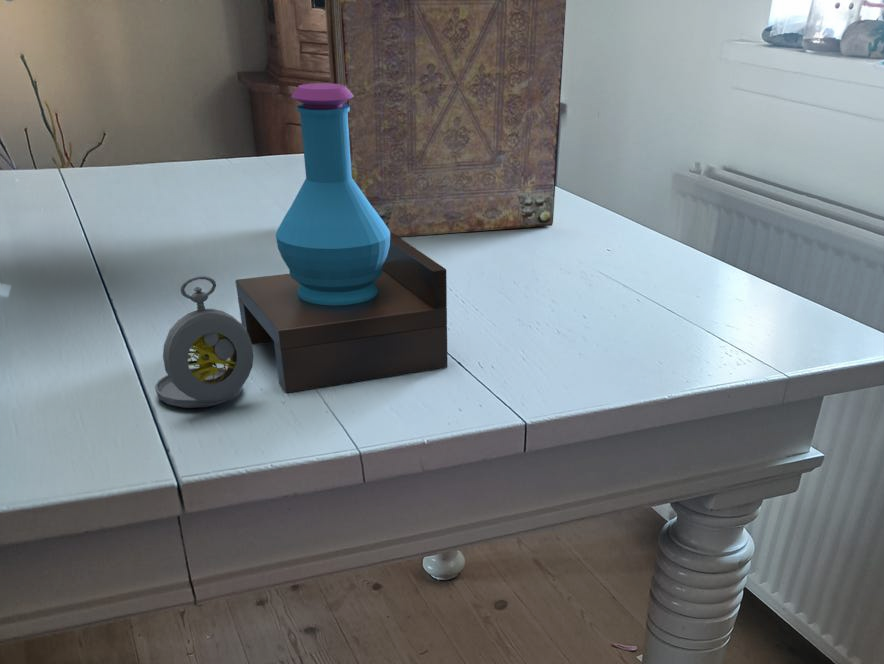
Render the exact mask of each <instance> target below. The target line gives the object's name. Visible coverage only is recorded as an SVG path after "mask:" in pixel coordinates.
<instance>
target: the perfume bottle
mask: <svg viewBox="0 0 884 664" xmlns="http://www.w3.org/2000/svg"><path fill="white" fill-rule="evenodd" d="M353 97H354V95H353V94H352V93H351V92H350V91H349V90H348V89H347V88H346V86H344V85H341V84H332V83H330V82H329V83H328V82H317V83H316V82H313V83H303V84H299V85H298V86H297V87H296V89H295V90H294V91H293V93H292V94H291V98H292V99H294V100H295V101H298V102H299V103H300V104H298V105H296V109H297V110H296V111H297V112H298V113H299V116H300V126H301V127H300V128H301V136H302V150H303V158H304V159H303V160H304V169H305V180H304V181H303V183H302V184H301V187H300V188H299V191H298V192H297V194H296V196H295V198H294V200H293V201H292V203H291V205H290V207H289V209H288V210H287V212H286V213H285V215H284V217H283V219H282V221H281V223H280V224H279V227H278V228H277V230H276V232H275V239H276V240H275V241H276V244H277V245H276V246H277V249H278V251H279V253H280V256H281V258H282V261H283V262H284V264H285V265H286V266H287V268H288V271H289V273H290V276H291V277H292V279H294V280H295V281H297V282H298V283H300V285H299V288H298V296H299V297H300V298H301V299H302V300H304V301H307V302H310V303H314V304H320V305H350V304H357V303H361V302H365V301H368V300H370V299H372V298H374V297H375V296H376V295H377V286H376V285H375V283H374V281H375V280H376V279H378V278H379V277H380V276H381V274H382V266H383V264H384V262H385V259H386V257H387V254H388V250H389V246H390V230H389V229H388V228H387V226H386V225H385V223H384V222H383V220H382V219H381V217H380V216H379V215H378V213H377V212H376V211H375V209H374V208H373V207H372V206H371V204H370V203H369V201H368V200H367V198H366V197H365V196H364V194H363V193H362V191H361V190H360V189H359V187H358V186H357V184H356V183H355V181H354V180H353V179H352V175H351V159H350V143H349V128H348V112H349V111H350V106H349V105H347V104H343V103H344V102H346V101H348V100H349V99H351V98H353Z"/></svg>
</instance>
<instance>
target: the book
mask: <svg viewBox="0 0 884 664" xmlns="http://www.w3.org/2000/svg"><path fill="white" fill-rule="evenodd" d="M324 10H325V23H326V24H325V26H326V38H327V52H328V53H327V55H328V67H329V83H332V84H341V85H344V86H346V88H347V89H348V90H349V91H350V92H351V93H352V94H353V95H354V97H353V98H351V99H349V100H348V101H346V102H344V103H343V104H347V105H349V106H350V111H349V112H348V128H349V143H350V159H351V175H352V179H353V180H354V181H355V183H356V184H357V186H358V187H359V189H360V190H361V191H362V193H363V194H364V196H365V197H366V198H367V200H368V201H369V203H370V204H371V206H372V207H373V208H374V209H375V211H376V212H377V213H378V215H379V216H380V217H381V219H382V220H383V222H384V223H385V225H386V226H387V228H388V229H389V230H390V232H392V233H393V234H395V235H396V236H398V237H399V238H401V237H414V236H426V235H427V236H430V235H442V234H455V233H468V232H482V231H497V230H509V229H510V230H511V229H521V228H522V229H524V228H537V227H551V226H553V223H554V212H555V199H556V198H555V197H556V181H557V180H556V179H557V165H558V163H557V162H558V149H559V148H558V147H559V131H560V129H559V128H560V114H561V113H560V111H561V97H562V96H561V95H562V94H561V93H562V78H563V64H564V63H563V60H564V45H565V44H564V43H565V27H566V14H567V13H566V11H567V0H324Z"/></svg>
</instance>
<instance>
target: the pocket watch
mask: <svg viewBox="0 0 884 664" xmlns="http://www.w3.org/2000/svg"><path fill="white" fill-rule="evenodd" d="M198 280H204V281H208V282H210V284H211V285H212V286H211V288H210V289H209V290H208V291H207V292H205V291H203V290H202V287H200V286H196V287H195V288H193V291H194V292H193V293H192V294H190V295H189V294H187V292H186V290H185V289H186V287H187V286H188V285H189V284H190V283H193V282H195V281H198ZM216 287H217V282H216V280H214V278H212V277H210V276H206V275H200V276H199V275H198V276H195V277H191V278H189V279H187V280H186V281H184V282H183V283H182V284H181V286H180V293H181V295H182V296H183V297H184V298H187V299H190V301H192V302H193V303H195V304H196V310H193V311H189V312H187V313H186V314H185V315H183V316H182V317H180V318H179V319H178V320H177V321H176V322H175V323H174V324H173V326H172V327H171V328H170V329H169V331H168V333H167V335H166V338H165V341H164V343H163V351H162V352H163V353H162V360H163V367H164V369H165V372H166V375H164V376H162V377H161V378H160V379H158V380H157V382H156V383H155V385H154V389H155V394H156V396H157V398H158V400H160V401H162V402H163V403H165V404H167V405H168V406H169V405H170V406H174V407H179V408H191V409H192V408H207V407H212V406H217V405H221V404H223V403H226V402H229V401H232V400H233V399H234V398H237V397H238V396H239V395H240V394H241V393H242V391H243V389H244V385H245V383H246V382H247V380H248V378H249V376H250V374H251V371H252V369H253V364H254V347H253V343H251V339H250V337H249V335H248V333H247V331H246V330H245V328H244V327H243V325H242V322H240V321H239V320H238V319H237V318H236V317H234V316H233V315H231V314H230V313H228V312H226V311H223V310H220V309H215V308H206V307H205V302H206V301H208V299H209V296H210V295H212V294H213V293H214V292H215V290H216V289H217V288H216ZM191 354H192V355H191ZM193 358H194V359H195V360H193ZM217 364H218V365H222V366H223V367H218V365H217ZM190 366H193V367H191V368H190ZM226 367H227V368H226Z"/></svg>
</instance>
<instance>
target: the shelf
mask: <svg viewBox="0 0 884 664" xmlns="http://www.w3.org/2000/svg"><path fill="white" fill-rule="evenodd" d="M447 277H448V276H447V268H445V267H444V266H443V265H441V264H439V263H438V262H437V261H435V260H433V259H432V258H430V256H427V255H426V254H424V253H423V252H422V251H420V250H419V249H417V248H416V247H414V246H413V245H411V243H408V242H407V241H405V240H403V239H402V238H401V237H398V236H396V235H395V234H393V233H392V232H390V246H389V250H388V254H387V257H386V259H385V262H384V264H383V266H382V274H381V276H380V277H379V278H378V279H376V280H375V281H374V283H375V285H376V286H377V295H376V296H375V297H374V298H372V299H370V300H368V301H365V302H361V303H357V304H350V305H320V304H314V303H310V302H307V301H304V300H302V299H301V298H300V297H299V296H298V288H299V285H300V283H298V282H297V281H295V280H294V279H292V277H291V276H290V272H289V273H282V274H273V275H265V276H256V277H255V276H254V277H247V278H239V279H235V287H236V294H237V300H238V301H237V302H238V307H239V314H240V315H239V316H240V321H241V322H240V323H241V324H242V325H243V327H244V328H245V330H246V331H247V333H248V335H249V337H250V339H251V343H252V344H256V343H262V342H272V341H273V342H274V351H275V360H276V368H277V377H278V383H279V384H278V385H280V387H281V388H282V390H283V391H284V392H285V393H286V394H288V393H294V392H300V391H306V390H312V389H317V388H318V389H319V388H320V389H321V388H325V387H332V386H337V385H344V384H351V383H357V382H362V381H369V380H375V379H381V378H386V377H387V378H388V377H394V376H400V375H405V374H412V373H418V372H424V371H429V370H436V369H442V368H443V369H444V368H448V308H447V307H448V305H447V304H448V296H447V295H448V291H447V289H448V283H447Z"/></svg>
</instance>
